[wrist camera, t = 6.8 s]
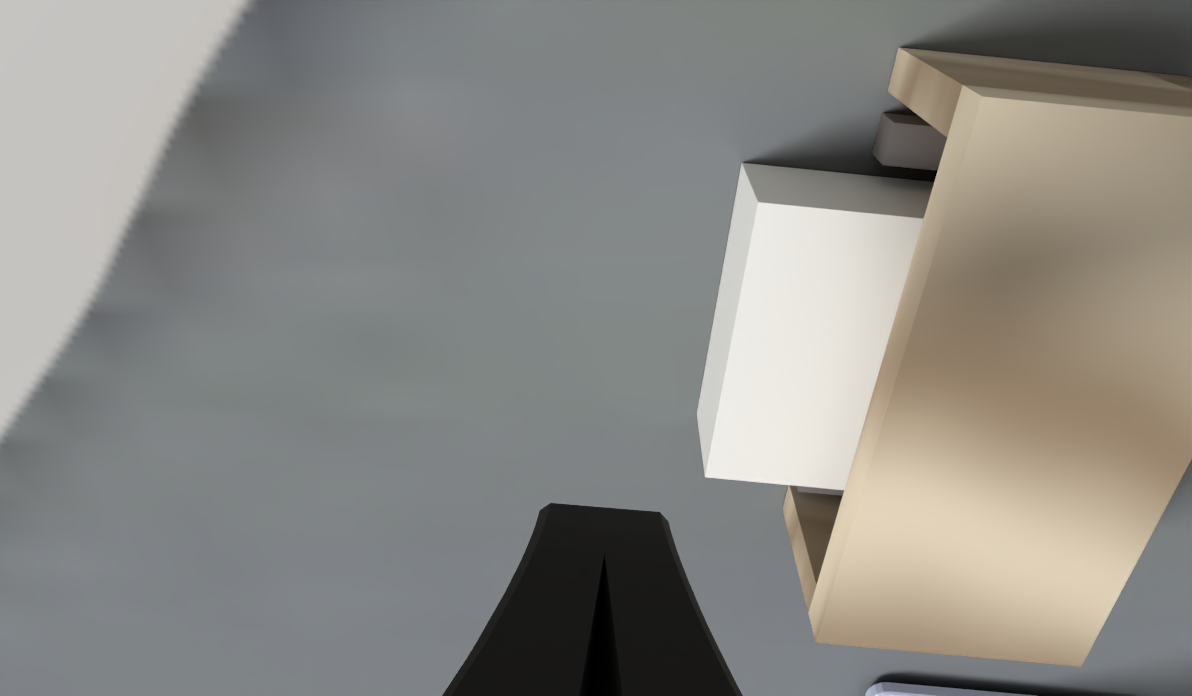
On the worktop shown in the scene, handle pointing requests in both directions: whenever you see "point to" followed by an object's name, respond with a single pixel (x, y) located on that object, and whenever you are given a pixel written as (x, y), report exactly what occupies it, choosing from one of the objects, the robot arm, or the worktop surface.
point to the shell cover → (803, 321)
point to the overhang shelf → (1017, 366)
